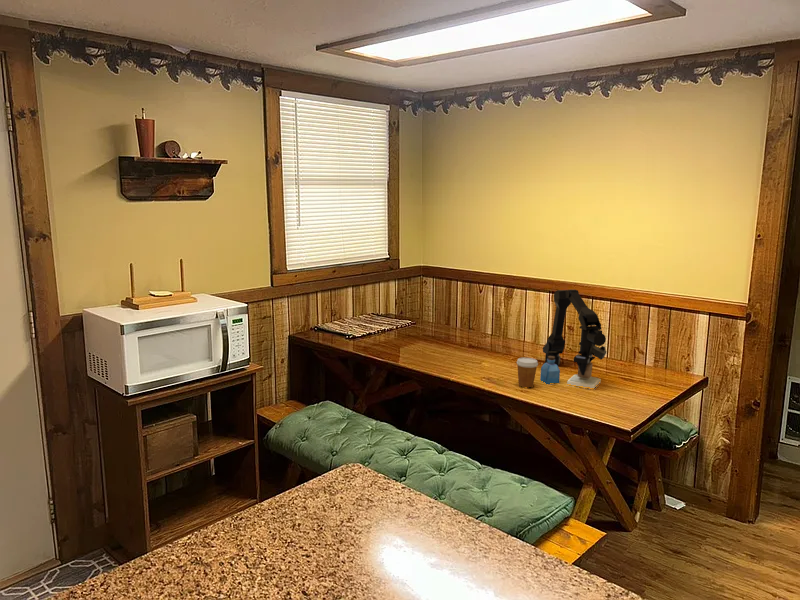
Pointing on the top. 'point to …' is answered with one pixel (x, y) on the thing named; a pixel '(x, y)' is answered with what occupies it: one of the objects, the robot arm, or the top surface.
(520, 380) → the disposable coffee cup
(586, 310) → the robot arm
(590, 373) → the block
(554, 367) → the perfume bottle
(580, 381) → the base
